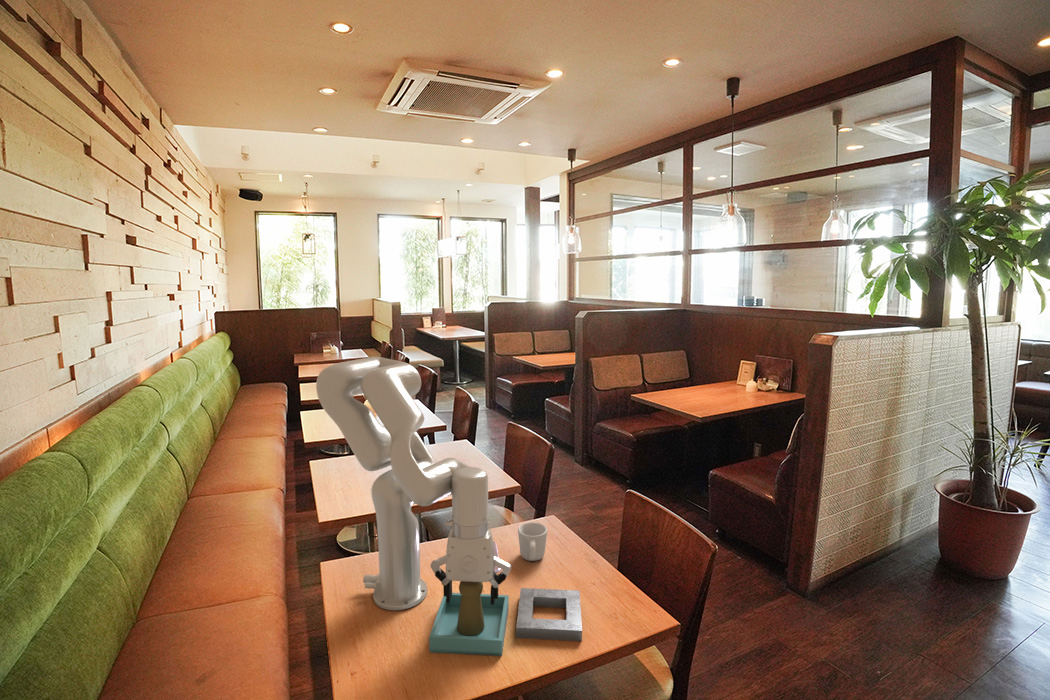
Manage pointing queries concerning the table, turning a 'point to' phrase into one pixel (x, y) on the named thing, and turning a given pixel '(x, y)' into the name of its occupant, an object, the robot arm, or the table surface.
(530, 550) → the cup
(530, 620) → the socket block
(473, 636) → the parts tray
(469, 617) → the olive brown peg figure
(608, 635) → the table surface
